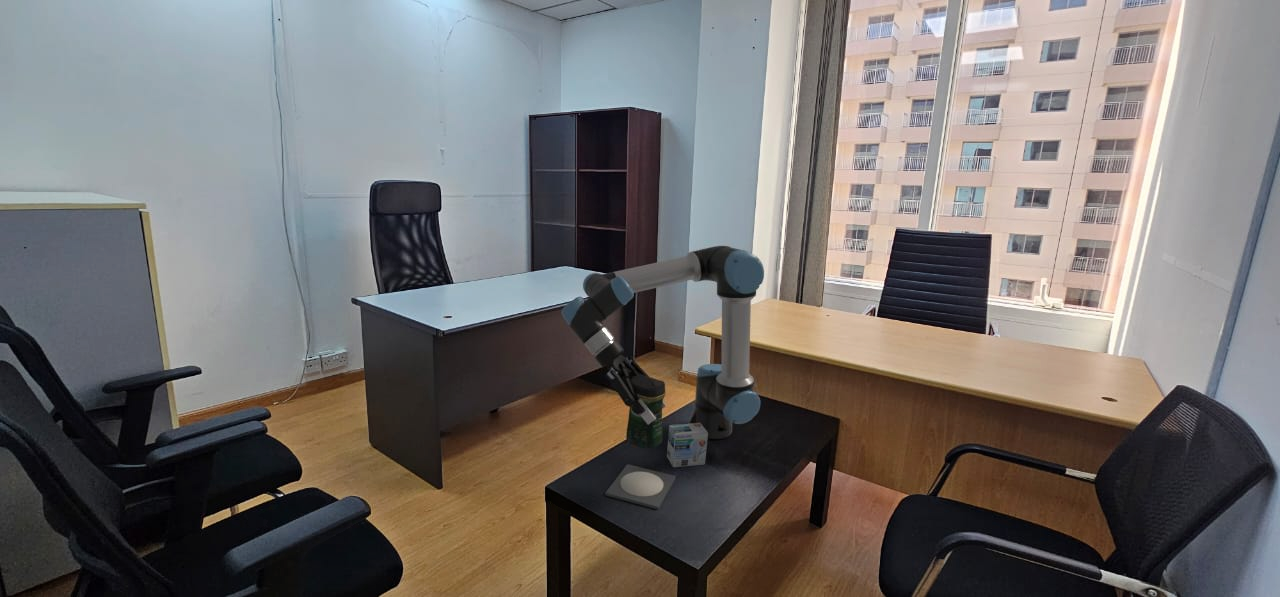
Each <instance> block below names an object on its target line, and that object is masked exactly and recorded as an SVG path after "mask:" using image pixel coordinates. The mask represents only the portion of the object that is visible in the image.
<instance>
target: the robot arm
mask: <svg viewBox="0 0 1280 597" xmlns="http://www.w3.org/2000/svg"><path fill="white" fill-rule="evenodd" d="M764 278H765V269H764V264H763V262H762V261H761V259H760V258H759V257H758V256H756V255H755V254H754V253H751V252H749V251H748V250H745V249H739V248H734V247H732V246H728V245H716V246H711V247H707V248H705V247H704V248H701V249H699V250H698V249H697V250H692V251H689V252H688V253H687V255H686V256H681V257H676V258H672V259H668V260H662V261H657V262H654V263H649V264H645V265H640V266H635V267H631V268H625V269H621V270H617V271H613V272H612V271H611V272H607V273H606V272H605V273H597V272H593V273H589V274H588V275H587V276H586V277H585V278H584V280H583V282H582V283H583V284H582V289H583V291H584V293H585V294H586V296H587V297H588V298H587V299H585V298H584V297H583V296H577V297H575V298H574V299H572V300H571V301H569V302H568V303H567V304H566V305H565V306H564V307H563V308H562V309H561V316H562V318H563V319H564V320H565V322H566V323H567V324H568V326H569V328H571V329H570V330H572V331H573V332H574V333H575V335H576V336H577V337H578V339H579V340H580V341H581V342H582V343H583V345H584V346H585V347H586V349H587V350H588V351H589V353H591V355H593V356H594V355H595V360H596V361H597V363H598V364H599V365H600V367H601V368H606V367H607V369H608V372H607V373H605V377H606V378H607V380H609V382H610V383H611V385H612V386H613V388H614V389H615V391H616V392H617V393H618V396H619V398H620V399H621V400H622V402H623V404H624V405H625V406H626V407H628V408H630V406H631V405H633V406H634V408H635V409H636V410H637V411H638V413H639V414H640V415H641V417H642V418H643V419H644V420H645V422H646V423H647V424H650V423H651V422H653V421H654V420H655V419H656V417H655V416H654V415H653V413H652V412H651V411H650V410H649V408H648V407H647V406H646V405H645V403H644V402H643V401H642V400H641V398H640V399H639V400H638V397H637V395H636V393H635V391H634V389H633V387H632V385H631V383H630V380H631V378H632V377H634V376H636V375H639V374H642V375H645V376H648V377H650V376H649V375H648V374H647V373H646V371H645V370H644V369H643V368H641V366H640V365H639V364H638V363H637V362H636V361H635V359H634V358H633V356H632V355H628V356H627V357H625V356H624V355H623V353H624V351H625V349H624V348H623V347H622V345H621V343H620V342H618V341H617V340H615V337H614V335H613V334H612V333H611V332H610V330H609V329H608V327H607V326H606V325H605V324H604V322H605V321H606V320H607V319H609V317H611V316H612V315H613V314H615V313H616V312H617V311H619V310H620V309H622V308H623V307H624V306H626V305H627V304H628V303H629V302H630V301H631V300H632V299H634V296H635V295H634V294H635V293H638V292H643V291H648V290H652V289H657V288H661V287H665V286H669V285H674V284H675V285H676V284H679V283H683V282H688V281H693V282H695V283H698V282H703V281H711V282H714V283H716V295H717V297H718V298H719V299H720V300H721V364H719V363H709V364H708V363H707V364H703V365H701V366H699V367H698V368H697V373H696V387H695V400H694V407H693V410H692V412H691V413H690V416H689V419H688V423H687V424H692V423H701V424H702V426H703V427H704V428H705V429H706V431H707V432H708V438H707V440H720V439H721V440H722V439H726V438H729V436H731V434H732V432H733V424H737V425H742V424H746V423H749V421H752V419H754V417H755V416H757V414H758V413H759V411H760V409H761V399H760V397H759V395H758V393H757V392H756V391H755V389H754V388H755V379H754V377H753V376H752V375H751V374H750V356H751V355H750V354H751V353H750V350H751V349H750V348H751V308H752V307H751V306H752V304H751V302H752V300H753V299H754V298H755V297H756V296H757V291H758V289H759V288H760V285H762V283H763V281H764ZM666 407H667V404H666V403H665V401H664V400H663V403H662V410H663V409H664V408H666Z"/></svg>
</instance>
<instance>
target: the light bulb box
mask: <svg viewBox="0 0 1280 597" xmlns="http://www.w3.org/2000/svg"><path fill="white" fill-rule="evenodd" d="M707 447H708V432H707V431H706V429H705V428H704V427H703V426H702V424H701V423H692V424H688V423H683V424H681V423H679V424H670V425H669V427H668V436H667V452H666V453H667V454H666V458H667V459H668V460H669V463H670V465H671V466H672V467H673V468H679V467H692V466H704V465H705V464H706V457H707Z"/></svg>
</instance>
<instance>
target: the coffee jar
mask: <svg viewBox="0 0 1280 597" xmlns="http://www.w3.org/2000/svg"><path fill="white" fill-rule="evenodd" d="M648 376H649V375H648ZM648 376H645V375H642V374H639V375H636V376H634V377H632V378H631V379H629V381H630V383H631V385H632V387H633V389H634V391H635V393H636V395H637V397H638V400H639V399H640V398H641V400H642V401H643V402H644V403H645V405H646V406H647V407H648V408H649V410H650V411H651V412H652V413H653V415H654V416H655V417H656V419H655V420H654V421H653V422H651V423H650V424H647V423H646V422H645V420H644V419H643V418H642V417H641V415H640V414H639V413H638V411H637V410H636V409H635V408H634V406H633V405H631V406H630V407H629V409H628V410H629V411H628V420H627V427H626V433H625V434H626V436H625V438H626V441H628V442H629V443H630V444H632V445H634V446H636V447H639V448H642V449H645V450H649V449H655V448H657V447H658V446H660V445H661V444H662V442H663V435H664V434H663V433H664V432H663V409H662V403H663V401H664V399H665V397H666V383H665V382H664V380H660V379H657V378H653V377H650V376H649V377H648Z"/></svg>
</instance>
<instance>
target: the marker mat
mask: <svg viewBox="0 0 1280 597" xmlns="http://www.w3.org/2000/svg"><path fill="white" fill-rule="evenodd" d="M676 478H677V477H676V475H673V474H668V473H666V472H660V471H657V470H652V469H648V468H645V467H640V466H636V465H632V464H626V465H625V467H624V468H623V469H622V470H621V472H620V473H619V474H618V476H617V477H616V478H615V480H614V481H612V484H610V486H609V488H608V489H607V490H606V491H605V496H606V497H610V498H615V499H617V500H621V501H626V502H628V503H629V502H630V503H632V504H637V505H641V506H644V507H648V508H650V509H651V508H652V509H655V510H659V509H660V507H661V505H662V504H663V502H664V500H665V498H666V497H667V494H668V493H669V491H670V490H671V488H672V485H673V484H674V482H675V480H676Z"/></svg>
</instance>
